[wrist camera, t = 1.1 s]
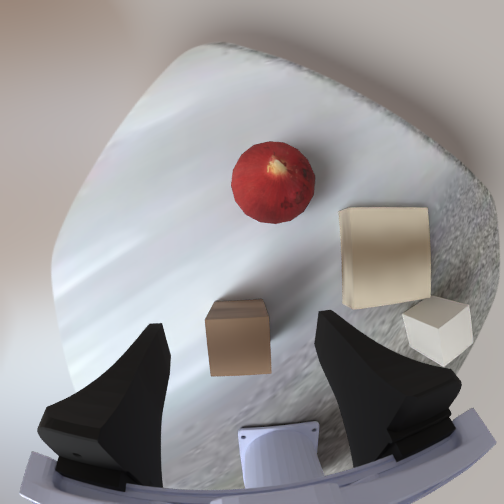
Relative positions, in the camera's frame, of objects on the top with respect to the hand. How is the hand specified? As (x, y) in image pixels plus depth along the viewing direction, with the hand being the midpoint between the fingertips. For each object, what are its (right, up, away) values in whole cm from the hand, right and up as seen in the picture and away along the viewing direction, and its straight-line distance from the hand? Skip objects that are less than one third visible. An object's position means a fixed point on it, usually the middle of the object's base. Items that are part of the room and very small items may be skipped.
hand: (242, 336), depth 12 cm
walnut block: (-1, -2, +11) cm, 11 cm away
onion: (+2, +9, +11) cm, 14 cm away
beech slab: (+12, +4, +11) cm, 17 cm away
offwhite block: (+17, -3, +11) cm, 21 cm away
